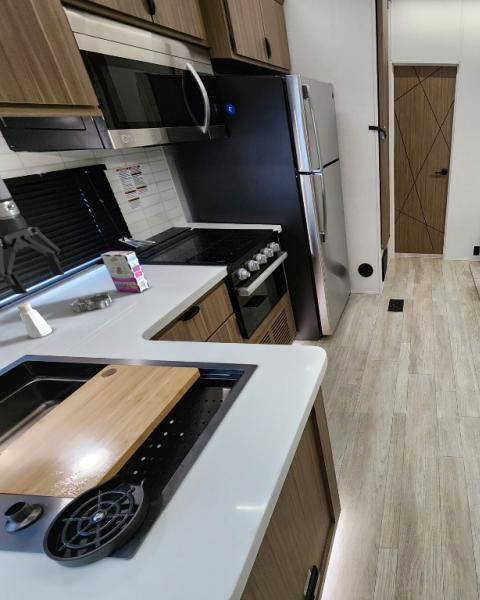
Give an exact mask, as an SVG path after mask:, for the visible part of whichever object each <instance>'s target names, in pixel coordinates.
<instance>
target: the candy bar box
mask: <svg viewBox="0 0 480 600" xmlns="http://www.w3.org/2000/svg"><path fill="white" fill-rule="evenodd" d="M100 257H101V259H102V261H103V264H104V265H105V267H106V270H107V272H108V274H109V277H110V278H111V280H112V282H113V285H114V287H115V289H116V291H117V292H123V293H124V292H126V293H142V292H145V291H147V290H148V289H149V288H150V286H149V283H148V280H147V278H146V276H145V273H144V271H143V268H142V266H141V263H140V261H139V259H138V256H137V254H136V251H133V250H132V251H130V250H110V251H107V252H104V253H101V254H100Z"/></svg>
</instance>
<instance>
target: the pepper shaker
mask: <svg viewBox="0 0 480 600" xmlns="http://www.w3.org/2000/svg"><path fill="white" fill-rule="evenodd" d="M17 309H18V311H20V313H19V316H20V318H21V322H22V323H23V325H24V328H25V329H26V332H27V333H28V336H29V337H30V338H33V339H37V338H42V337H44V336H47V335H49V334H51V332H52V331H53V329H52V327H51V326H50V325H49V324H48V323H47V321H46V320H45V319H44V317H42V315H41V314H40V313H39V312H38V310H36V309H34V308H32V306H31V304H30V303H27V302H26V303H22V304H19V305H17Z"/></svg>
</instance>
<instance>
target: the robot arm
mask: <svg viewBox="0 0 480 600" xmlns="http://www.w3.org/2000/svg"><path fill="white" fill-rule="evenodd" d="M20 214H21V211H20V209H19V208H18V206H17V204H16V202H15V201H14V198H13V196H12V195H11V193H10V191H9V190H8V187H7V186H6V183H5V182H4V180H3V178H2V175H0V276H1V277H2V279H3V280H4V282H5V284H6V285H8V286H10V288H11V290H12V291H13V292H14V294H15V295H26V294H28V291H27V289H26V288H25V286H24V284H23V282H22V281H21V279H20V278H19V276H18V274H17V273H16V272H13V269H14V264H15V259H16V254H17V253H18V252H19V250H22V249H24V248H28V247H29V248H31V249H32V250H35V251H37V252H39V253H40V254H43V255H45V256H44V260H45V262H46V264H47V265H48V267H49V269H50V271H51V273H52V274H53V276H63V275H65V273H64V270H63V269H62V267H61V264H60V260H59V258H58V257H57V256H59V254H60V252H61V249H60V248H59V246H57V245H56V244H55V243H54V242H53V241H52V240H50V239H49V238H48V237H47V236H46V235H44V234H43V233H42V232H41V230H40V229H39V228H38V227H37V226H29V225H28V223H27V222H26V220H25V218H24V217H23V215H20Z"/></svg>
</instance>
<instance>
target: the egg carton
mask: <svg viewBox="0 0 480 600" xmlns="http://www.w3.org/2000/svg"><path fill="white" fill-rule="evenodd" d="M109 294H110V292H109V291H103V292H100V293H99V294H95V295H93V296H88V297H84V298H82V297H81V298H77V299H75V300H74V301H72V302H71V303H69V305H71V306H72V307H73V309H74V311H75V312H77V313H81V312H83V311H87V310H88V311H93V310H95V309H99V310H102V309H105V308H107V307H109V304H110V303H111V304H112V302H113V300H112V299H111V297H110V296H109Z"/></svg>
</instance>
